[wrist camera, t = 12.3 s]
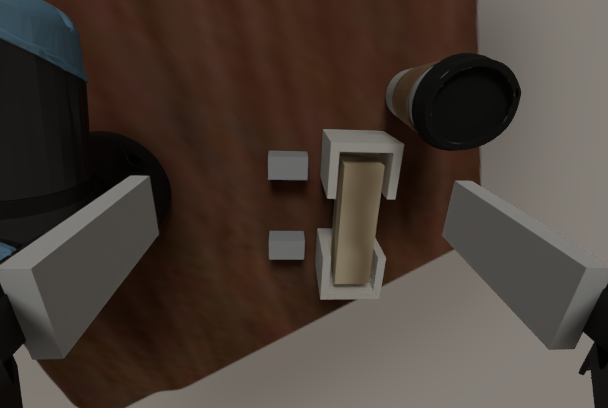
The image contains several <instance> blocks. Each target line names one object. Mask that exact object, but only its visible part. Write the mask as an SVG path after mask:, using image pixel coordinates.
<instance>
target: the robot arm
mask: <svg viewBox="0 0 608 408" xmlns="http://www.w3.org/2000/svg"><path fill="white" fill-rule="evenodd" d="M86 83H88V76H87V75H86V74H85V71H84V66H83V58H82V51H81V43H80V36H79V33H78V30H77V28H76V27H75V25H74V23H73V22H72V21H71V20H70V18H69V17H68V16H67V15H66V14H64V13H63V12H62V11H61V10H59V9H58V8H56V7H54V6H53V5H51V4H49V3H47V2H45V1H42V0H0V408H23V405H22V398H21V390H20V382H19V375H18V367H17V364H16V361H15V359H14V357H13V354H14V353H15V352H16V351H17V350H18V349H19V348H20V347H21V345H22V344H23V343H24V342H25V343H26V346H27V348H28V350H29V353H30V355H31V358H32V359H64V358H65V356H66V355H67V354H68V353H69V351H70V350H71V349H72V347H73V346H74V345H75V343H76V342H77V341H78V339H79V338H80V337H81V336H82V334H83V333H84V332H85V330H86V329H87V328H88V326H89V325H90V324H91V323H92V321H93V320H94V319H95V317H96V316H97V315H98V313H99V312H100V311H101V309H102V308H103V307H104V306H105V304H106V303H107V302H108V300H109V299H110V298H111V296H112V295H113V294H114V292H115V291H116V290H117V289H118V287H119V286H120V285H121V283H122V282H123V281H124V279H125V278H126V277H127V276H128V274H129V273H130V272H131V270H132V269H133V268H134V266H135V265H136V264H137V262H138V261H139V260H140V259H141V257H142V256H143V255H144V253H145V252H146V251H147V249H148V248H149V247H150V245H151V244H152V243H153V242H154V240H155V239H156V238H157V236H158V235H159V230H158V225H159V224H160V222H161V221H162V220H163V219H164V217H165V215H166V214H167V211H168V209H169V205H170V198H171V192H170V185H169V181H168V178H167V176H166V173H165V171H164V169H163V168H162V166H161V165H160V163H159V162H158V160H157V159H156V158H155V157H154V156H153V155H152V154H151V153H150V152H149V151H148V150H147V149H146V148H144V147H143V146H142V145H140V144H139V143H137V142H135V141H134V140H132V139H130V138H127V137H125V136H122V135H119V134H116V133H111V132H102V131H95V132H90V131H89V116H88V101H87V86H86ZM442 236H443V237H444V238H445V239H446V240H447V242H448V243H449V244H450V245H451V246H452V247H453V248H454V249H455V250H456V251H457V252H458V253H459V254H460V255H461V256H462V257H463V258H464V260H466V262H467V263H468V264H469V265H470V266H471V267H472V268H473V269H474V270H475V271H476V272H477V274H478V275H479V276H480V277H481V278H482V279H483V280H484V281H485V282H486V283H487V284H488V285H489V286H490V287H491V288H492V289H493V291H495V293H497V295H498V296H499V297H500V298H501V299H502V300H503V301H504V302H505V303H506V304H507V305H508V307H510V309H511V310H512V311H513V312H514V313H515V314H516V315H517V316H518V317H519V318H520V319H521V320H522V321H523V323H524V324H526V326H527V327H528V328H529V329H530V330H531V331H532V332H533V333H534V334H535V335H536V336H537V337H538V338H539V340H540V341H541V342H542V343H543V344H544V345H545V346H546V347H547V348H548V349H550V350H551V349H553V350H554V349H575V347H576V345H577V343H578V341H579V339H580V337H581V335H582V333H583V332H584V333H585V334H587V335H588V336H589V337H590V338H591V339H592V340H593V341H594V344H593V346H592V348H591V349H590V351H589V353H588V355H587V357H586V359H585V361H584V362H583V364H582V366H581V368H580V371H579V374H581V375H584V374H585V372H586V371H588V370H591V376H592V377H591V379H592V385H593V396H594V404H595V408H608V263H607V262H605V261H603V260H602V259H600V258H598V257H597V256H595V255H593V254H592V253H590V252H589V251H587V250H585V249H584V248H582V247H580V246H579V245H577V244H575V243H574V242H572V241H570V240H569V239H567V238H565V237H563V236H562V235H560V234H559V233H557V232H555V231H553V230H552V229H550V228H549V227H547V226H545V225H544V224H542V223H540V222H539V221H537V220H535V219H534V218H532V217H530V216H529V215H527V214H525V213H524V212H522V211H520V210H519V209H517V208H515V207H514V206H512V205H511V204H509V203H507V202H505V201H504V200H502V199H501V198H499V197H497V196H495V195H494V194H492V193H491V192H489V191H487V190H486V189H484V188H482V187H481V186H479V185H477V184H476V183H474V182H472V181H455V182H454V186H453V191H452V195H451V199H450V203H449V208H448V212H447V216H446V220H445V225H444V229H443V233H442Z"/></svg>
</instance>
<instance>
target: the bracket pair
mask: <svg viewBox="0 0 608 408" xmlns="http://www.w3.org/2000/svg"><path fill="white" fill-rule="evenodd" d="M403 149H404V144H403V143H402V142H400V141H399V140H397V139H395V138H394V137H392V136H391V135H389V134H387V133H386V132H384V131H370V130H332V129H323V137H322V155H321V172H320V178H321V181H322V184H323V187H324V190H325V193H326V196H327V199H336V191H337V178H338V166H339V154H361V155H374V156H375V157H376V158H377V159H378V160H379V161H380V162H381V163H382V164H383V165H384V166H385V168H384V175H383V182H382V190H381V192H382V194H383V195H384V196H385V198H386V199H394V200H395V199H396V192H397V186H398V180H399V174H400V168H401V161H402V155H403ZM331 238H332V228H317V241H316V258H315V268H316V274H317V281H318V288H319V294H320V300H324V299H379V298H380V291H381V286H382V279H383V273H384V267H385V261H386V257H385V255H384V253H383V251H382V250H381V248H380V246H379V244H378V242H377V240H376V238H375V241H374V248H373V255H372V263H371V270H370V277H369V284H334V279H333V275H332V270H331V266H330V265H331V256H330V251H331Z"/></svg>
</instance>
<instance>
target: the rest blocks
mask: <svg viewBox="0 0 608 408" xmlns="http://www.w3.org/2000/svg"><path fill="white" fill-rule="evenodd" d="M307 176H308V154H307V152H302V151H269V154H268V180H307ZM304 248H305V239H304V231H270V235H269V260H304Z"/></svg>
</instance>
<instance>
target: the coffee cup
mask: <svg viewBox="0 0 608 408" xmlns="http://www.w3.org/2000/svg"><path fill="white" fill-rule="evenodd" d="M520 96H521V89H520V86H519V83H518V81H517V79H516V77H515V75H514V73H513V72H512V71H511V70H510V68H509V67H507V66H506V65H505V64H503V63H501V62H498V61H495V60H492V59H490V58H488V57H486V56H483V55H478V54H473V53H460V54H456V55H452V56H450V57H447V58H445V59H443V60H440V61H436V62H433V63H429V64H426V65H422V66H419V67H415V68H412V69H407V70H404V71H402V72H400V73H398V74H397V75H396V76H395V77H394V78H393V79H392V80H391V82H390V83H389V85H388V87H387V91H386V103H387V106H388V108H389V110H390V111H391V112H392V113H393V114H394V115H395V116H397V117H398V118H399V119H400V120H402V121H403V122H404V123H405V124H406V125H408V126H409V127H410V128H411V129H412V130H414V131H415V132H416V133H417V134H418V135H419V136H420V137H421V138H422V139H423V141H425V142H426V143H427V144H429V145H430V146H433V147H435V148H437V149H441V150H447V151H454V150H467V149H472V148H476V147H479V146H481V145H484V144H486V143H488V142H490V141H491V140H493V139H494V138H496V137H497V136H499V135H500V134H501V133H502V132H503V131H504V130H505V129H506V128H507V127H508V126H509V124H510V122H511V121H512V119H513V118H514V116H515V113H516V111H517V108H518V105H519V101H520Z"/></svg>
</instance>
